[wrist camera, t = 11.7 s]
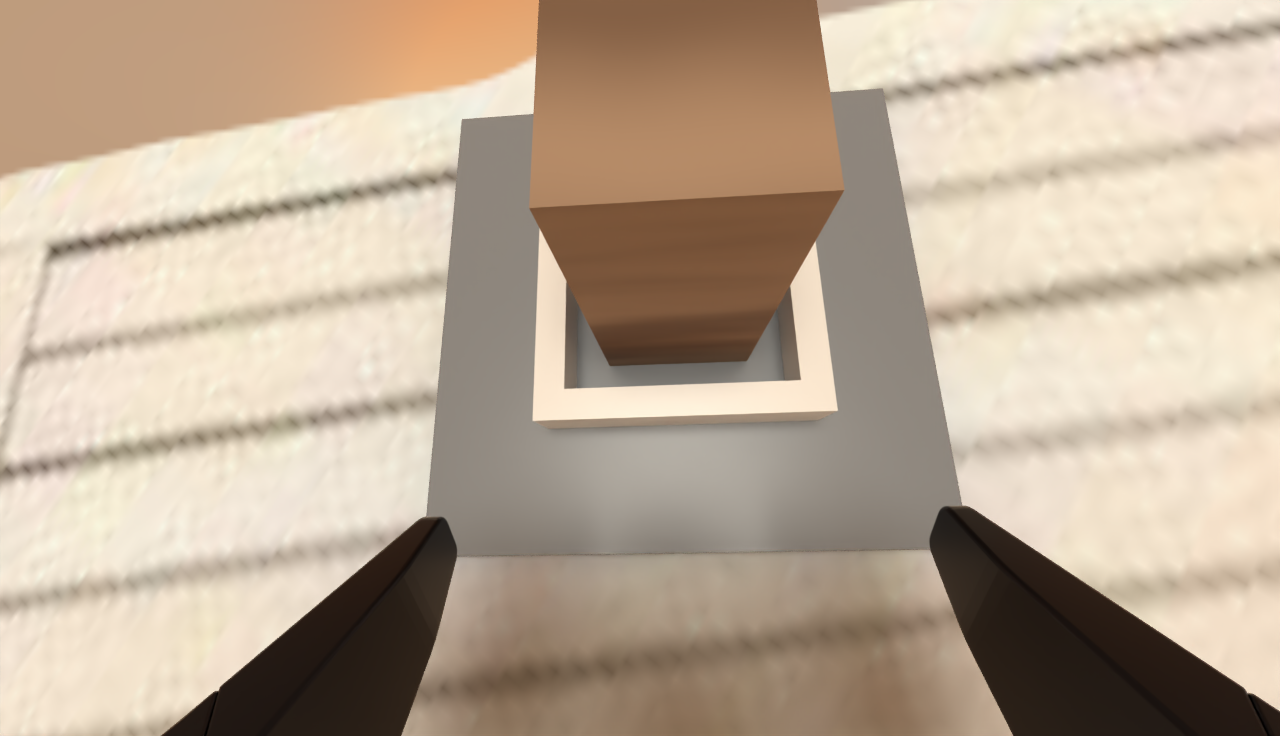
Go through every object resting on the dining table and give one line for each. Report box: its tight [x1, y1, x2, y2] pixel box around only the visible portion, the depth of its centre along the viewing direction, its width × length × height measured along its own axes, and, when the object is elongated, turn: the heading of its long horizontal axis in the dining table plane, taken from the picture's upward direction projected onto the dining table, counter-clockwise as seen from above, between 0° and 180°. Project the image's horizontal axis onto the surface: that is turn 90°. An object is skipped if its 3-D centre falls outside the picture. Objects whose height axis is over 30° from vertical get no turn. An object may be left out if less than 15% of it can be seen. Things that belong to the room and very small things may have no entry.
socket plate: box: [426, 89, 962, 556], centre depth 17 cm, size 18×18×3 cm
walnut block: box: [529, 0, 845, 366], centre depth 13 cm, size 5×5×10 cm
